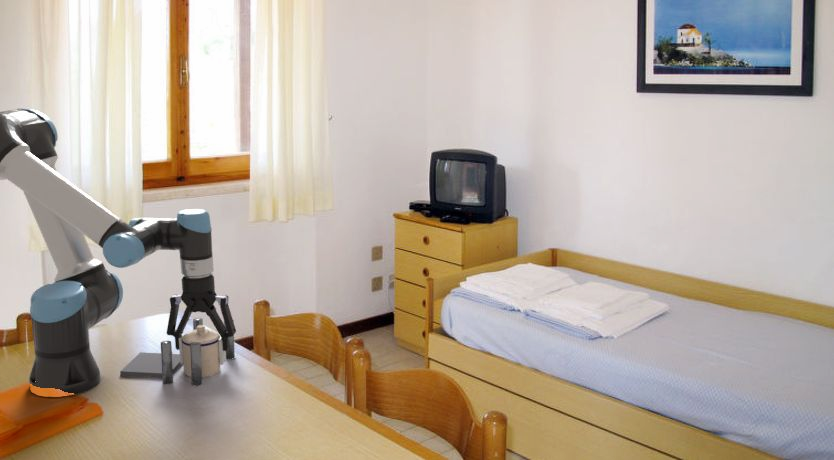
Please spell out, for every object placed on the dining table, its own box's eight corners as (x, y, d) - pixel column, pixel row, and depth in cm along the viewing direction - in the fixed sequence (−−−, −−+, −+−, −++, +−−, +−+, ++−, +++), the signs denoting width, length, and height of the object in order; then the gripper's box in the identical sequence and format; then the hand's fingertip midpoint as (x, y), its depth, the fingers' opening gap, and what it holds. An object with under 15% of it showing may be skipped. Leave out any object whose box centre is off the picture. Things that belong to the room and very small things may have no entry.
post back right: (223, 359, 200) (222, 322, 198) (226, 355, 203) (225, 318, 200) (233, 359, 200) (232, 322, 198) (235, 356, 203) (234, 319, 200)
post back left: (193, 357, 201) (191, 320, 198) (196, 354, 203) (194, 317, 201) (202, 358, 201) (200, 321, 198) (205, 354, 203) (203, 317, 201)
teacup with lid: (228, 371, 193) (227, 326, 191) (196, 382, 187) (194, 335, 184) (200, 357, 201) (199, 314, 198) (169, 368, 194) (166, 323, 192)
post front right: (190, 385, 185) (188, 345, 182) (193, 381, 187) (192, 341, 185) (200, 386, 184) (198, 346, 182) (203, 381, 187) (202, 342, 184)
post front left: (161, 384, 185) (158, 344, 183) (164, 379, 187) (162, 340, 185) (171, 384, 185) (169, 344, 183) (174, 380, 187) (172, 340, 185)
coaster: (120, 375, 189) (120, 371, 189) (140, 356, 201) (140, 352, 200) (169, 378, 188) (169, 373, 188) (186, 359, 200) (186, 354, 200)
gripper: (146, 277, 185) (154, 367, 190) (237, 279, 184) (242, 369, 189) (159, 269, 192) (165, 355, 197) (246, 270, 191) (251, 357, 196)
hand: (203, 362), depth 193 cm, fingers open, 9 cm apart
